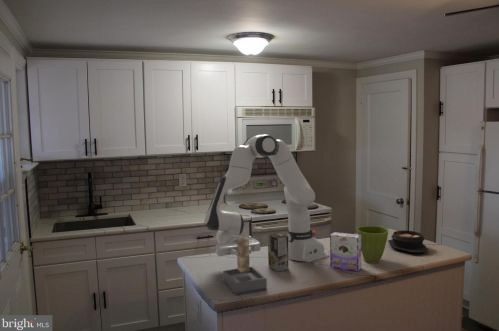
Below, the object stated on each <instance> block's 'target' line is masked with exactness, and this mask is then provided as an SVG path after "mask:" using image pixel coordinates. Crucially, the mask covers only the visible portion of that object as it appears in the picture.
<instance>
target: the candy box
mask: <svg viewBox="0 0 499 331" xmlns="http://www.w3.org/2000/svg"><path fill="white" fill-rule="evenodd" d="M329 239H330V240H329V251H330V252H329V258H330V259H329V260H330V266H329V267H330V268H332V269H338V270H344V271H345V270H346V271H352V272H359V271H360V270H361V269H362V251H361V235H358V234H354V233H353V234H352V233H345V232H338V231H337V232H335V231H334V232H332V233H331V234H330V235H329Z"/></svg>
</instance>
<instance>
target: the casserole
mask: <svg viewBox="0 0 499 331" xmlns="http://www.w3.org/2000/svg"><path fill="white" fill-rule="evenodd" d="M424 241H425V237H424V235H423V234H422V233H421V232H418V231H414V230H396V231H394V232H393V234H392V235H391V239H387V243H389V246H390V247H392V248H393V249H397V250H399V251H402V252H409V253H413V254H415V253H427V252H428V251H430V249H429V248H428V247H427V246H426V245H425V244H424Z"/></svg>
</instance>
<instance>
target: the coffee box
mask: <svg viewBox="0 0 499 331" xmlns="http://www.w3.org/2000/svg"><path fill="white" fill-rule="evenodd" d="M267 253H268V254H267V255H268V256H267V260H268V264H267V266H268V267H269V268H271V269H273V270H275V271H277V272H281V271H286V270H290V269H289V265H290V262H289V259H288V235H286V234H282V233H279V232H275V233H269V234H267Z"/></svg>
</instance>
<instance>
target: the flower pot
mask: <svg viewBox="0 0 499 331" xmlns="http://www.w3.org/2000/svg"><path fill="white" fill-rule="evenodd" d="M356 231H357V232H356V233H357V235H361V256H363V260H364V261H365V262H366V263H370V264H371V263H372V264H376V263H380V261H381V260H382V257H383V254H384V252H385V248H386V245H387V243H388V238H389V236H388V235H389V229H388V228H387V227H383V226H374V225H364V226H363V225H362V226H359V227H357V229H356Z"/></svg>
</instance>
